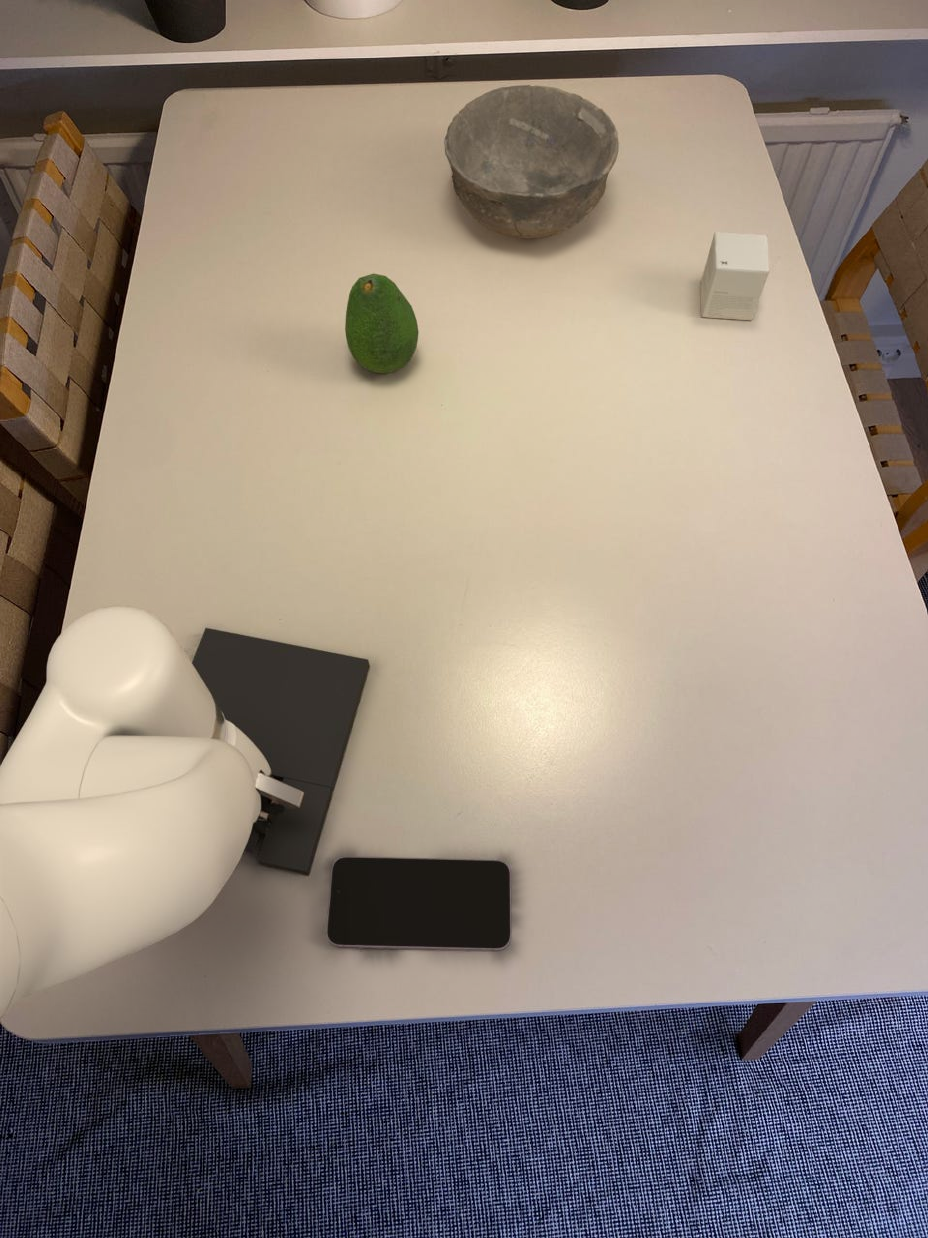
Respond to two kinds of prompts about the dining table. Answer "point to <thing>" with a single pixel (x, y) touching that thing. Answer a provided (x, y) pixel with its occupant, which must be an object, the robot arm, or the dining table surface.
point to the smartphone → (419, 903)
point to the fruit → (380, 325)
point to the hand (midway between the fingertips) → (227, 807)
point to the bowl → (530, 159)
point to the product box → (734, 275)
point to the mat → (287, 725)
